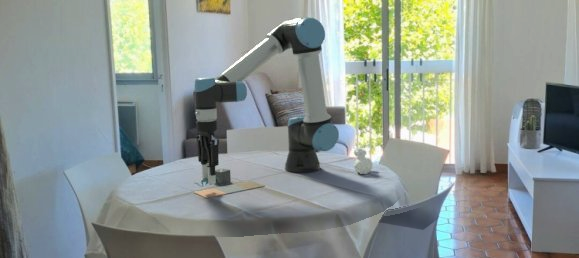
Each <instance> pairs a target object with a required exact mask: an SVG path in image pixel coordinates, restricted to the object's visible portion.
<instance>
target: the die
mask: <svg viewBox="0 0 579 258" xmlns="http://www.w3.org/2000/svg"><path fill="white" fill-rule="evenodd" d="M215 175H216V176H217V177H218V178H219V179H220V182H219V183H216V184H218V185H224V184H228V183H231V180H232V179H231V169H226V168H218V169H215Z"/></svg>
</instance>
